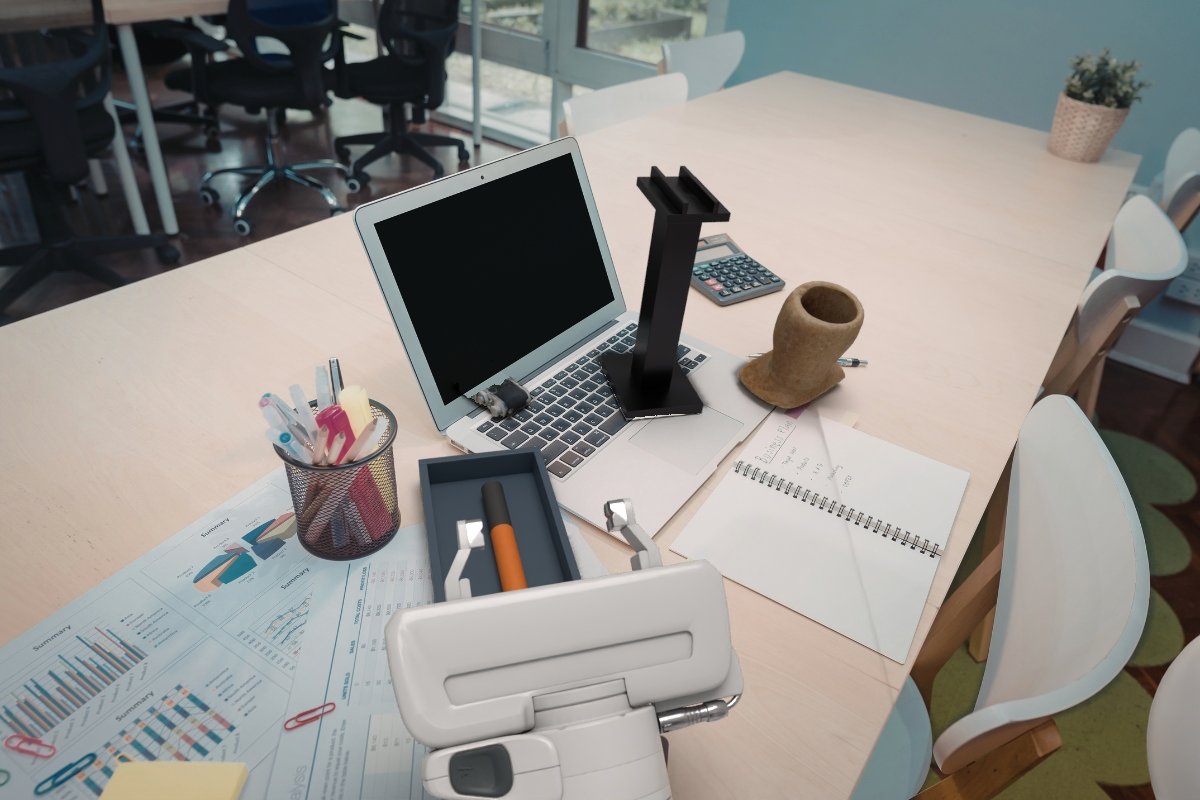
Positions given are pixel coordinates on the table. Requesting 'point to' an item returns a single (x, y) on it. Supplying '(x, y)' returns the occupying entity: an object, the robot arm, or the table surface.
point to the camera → (504, 397)
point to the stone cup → (806, 345)
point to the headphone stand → (664, 299)
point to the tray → (459, 497)
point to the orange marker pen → (503, 537)
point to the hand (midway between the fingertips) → (544, 510)
